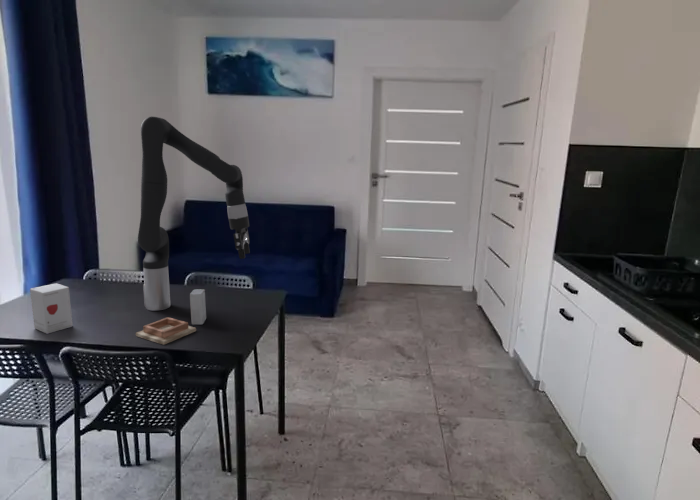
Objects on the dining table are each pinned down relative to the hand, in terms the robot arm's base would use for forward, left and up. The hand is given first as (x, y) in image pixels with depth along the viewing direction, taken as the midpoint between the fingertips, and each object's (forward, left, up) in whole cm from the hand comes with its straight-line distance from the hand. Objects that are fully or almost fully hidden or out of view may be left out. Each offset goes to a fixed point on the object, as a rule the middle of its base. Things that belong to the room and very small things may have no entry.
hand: (244, 256), depth 181 cm
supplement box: (-44, -51, -23) cm, 72 cm away
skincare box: (-5, -20, -23) cm, 31 cm away
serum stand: (-6, -34, -22) cm, 41 cm away
